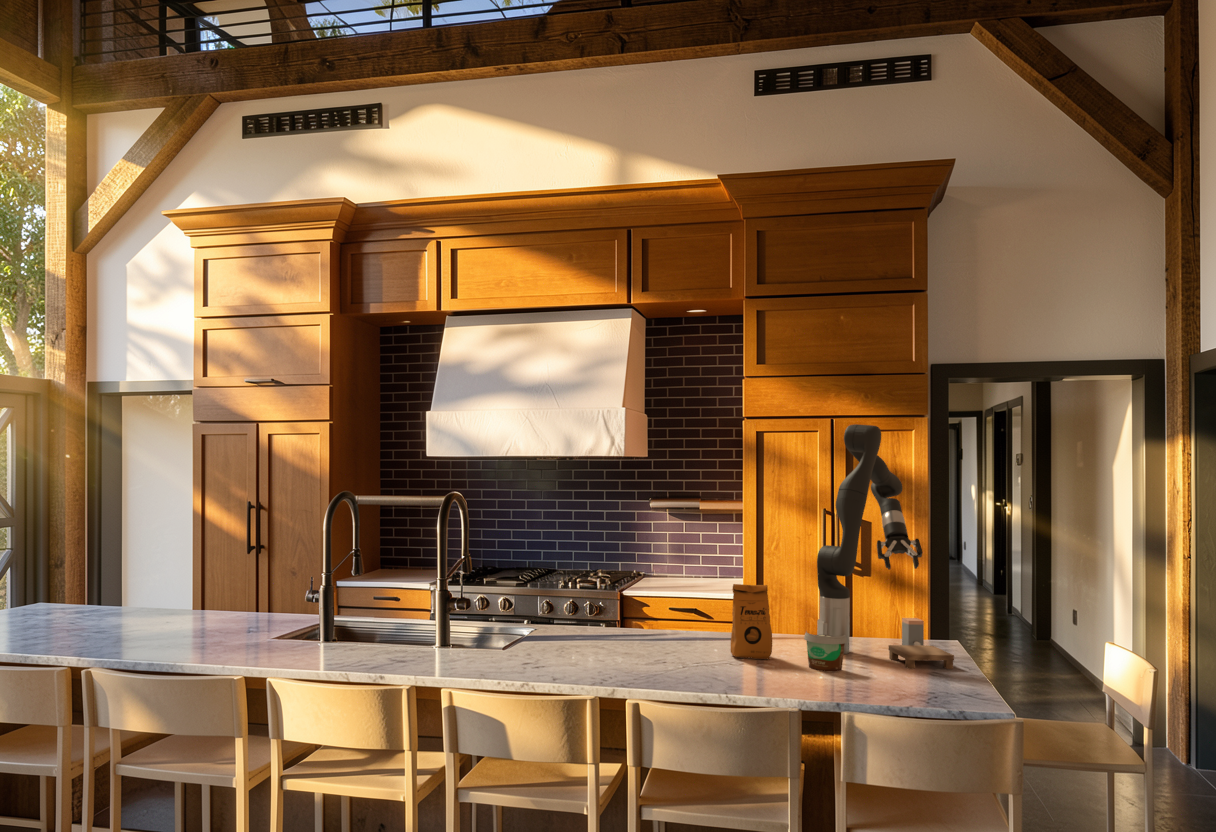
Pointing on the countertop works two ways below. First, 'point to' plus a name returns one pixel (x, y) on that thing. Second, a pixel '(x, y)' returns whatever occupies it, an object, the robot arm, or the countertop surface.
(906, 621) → the block
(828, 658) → the food container
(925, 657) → the walnut stand
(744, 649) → the coffee package
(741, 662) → the countertop surface
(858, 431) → the robot arm
